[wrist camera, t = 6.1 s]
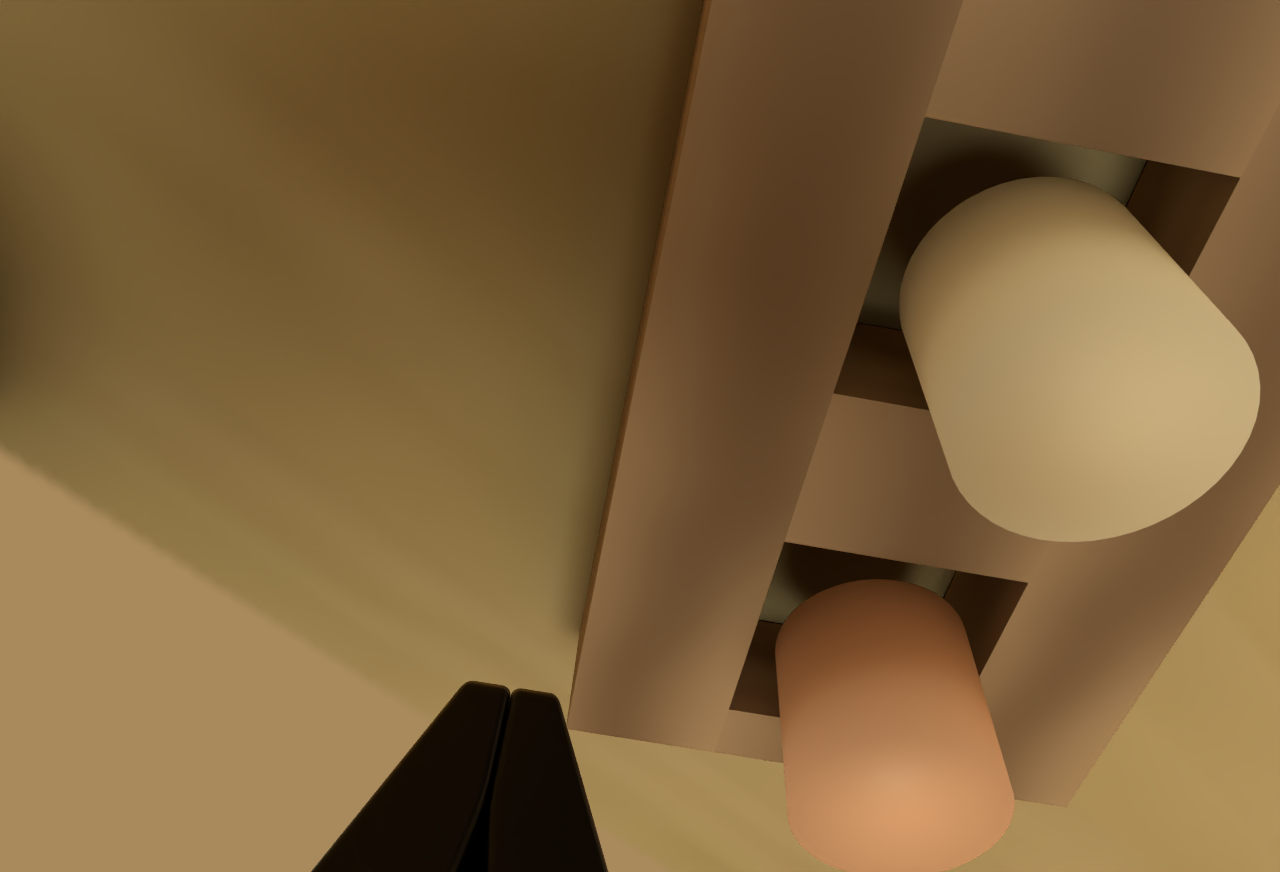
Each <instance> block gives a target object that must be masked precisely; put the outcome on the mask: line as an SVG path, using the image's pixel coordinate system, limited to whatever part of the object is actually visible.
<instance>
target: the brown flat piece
mask: <svg viewBox="0 0 1280 872" xmlns="http://www.w3.org/2000/svg"><path fill="white" fill-rule="evenodd" d="M925 117H928V118H934V119H939V120H944V121H949V122H954V123H959V124H965V125H970V126H975V127H980V128H985V129H991V130H996V131H1001V132H1006V133H1011V134H1016V135H1022V136H1027V137H1032V138H1037V139H1042V140H1048V141H1053V142H1058V143H1063V144H1068V145H1073V146H1079V147H1084V148H1089V149H1094V150H1099V151H1105V152H1110V153H1115V154H1120V155H1125V156H1130V157H1136V158H1141V159H1146V160H1148V161H1147V163H1146V166H1145V168H1144V170H1143V172H1142V174H1141V176H1140V179H1139V181H1138V183H1137V185H1136V187H1135V189H1134V191H1133V194H1132V196H1131V198H1130V200H1129V202H1128V204H1127V206H1126V208H1127V209H1128V211H1129V212H1130V213H1131V214H1132V215H1133V216H1134V217H1135V218H1136V219H1137V220H1138V222H1139V223H1140V224H1141V225H1142V226H1143V227H1144V228H1145V229H1146V230H1147V231H1148V232H1149V234H1150V235H1151V236H1152V237H1153V238H1154V239H1155V240H1156V241H1157V242H1158V243H1159V245H1160V246H1161V247H1162V248H1163V249H1164V250H1165V251H1166V252H1167V253H1168V254H1169V256H1170V257H1171V258H1172V259H1173V260H1174V261H1175V262H1176V263H1177V264H1178V265H1179V266H1180V268H1181V269H1182V270H1183V271H1184V272H1185V273H1186V274H1187V275H1188V276H1189V277H1190V279H1191V280H1192V281H1193V282H1194V283H1195V284H1196V285H1197V286H1198V287H1199V288H1200V290H1201V291H1202V292H1203V293H1204V294H1205V295H1206V296H1207V297H1208V298H1209V299H1210V301H1211V302H1212V303H1213V304H1214V305H1215V306H1216V307H1217V308H1218V309H1219V310H1220V311H1221V313H1222V314H1223V315H1224V316H1225V317H1226V318H1227V319H1228V320H1229V321H1230V322H1231V324H1232V325H1233V326H1234V327H1235V328H1236V329H1237V331H1238V332H1239V333H1240V334H1241V335H1242V337H1243V338H1244V339H1245V340H1246V342H1247V344H1248V346H1249V348H1250V350H1251V351H1252V353H1253V355H1254V358H1255V362H1256V365H1257V368H1258V372H1259V380H1260V404H1259V408H1258V413H1257V418H1256V421H1255V424H1254V427H1253V429H1252V432H1251V435H1250V437H1249V439H1248V441H1247V443H1246V444H1245V446H1244V448H1243V450H1242V452H1241V453H1240V455H1239V456H1238V458H1237V459H1236V460H1235V462H1234V463H1233V465H1232V466H1231V467H1230V469H1229V470H1228V471H1227V472H1226V473H1225V474H1224V475H1223V476H1222V477H1221V479H1220V480H1219V481H1218V482H1217V483H1216V484H1214V485H1213V486H1212V487H1211V488H1210V489H1209V490H1208V491H1207V492H1206V493H1205V494H1203V495H1202V496H1201V497H1199V498H1198V499H1197V500H1195V501H1194V502H1192V503H1191V504H1190V505H1188V506H1187V507H1185V508H1184V509H1182V510H1180V511H1179V512H1177V513H1175V514H1174V515H1172V516H1170V517H1168V518H1166V519H1164V520H1162V521H1160V522H1158V523H1156V524H1153V525H1151V526H1148V527H1146V528H1143V529H1140V530H1138V531H1135V532H1132V533H1128V534H1124V535H1121V536H1117V537H1113V538H1107V539H1101V540H1096V541H1084V542H1056V541H1047V540H1039V539H1035V538H1031V537H1026V536H1023V535H1020V534H1017V533H1014V532H1011V531H1008V530H1006V529H1004V528H1002V527H1000V526H998V525H996V524H994V523H993V522H991V521H990V520H988V519H987V518H985V517H984V516H982V515H981V514H980V513H979V512H978V511H976V510H975V509H974V508H973V507H972V506H971V505H970V504H969V503H968V502H967V500H966V499H965V498H964V497H963V495H962V494H961V493H960V491H959V489H958V488H957V486H956V484H955V482H954V480H953V478H952V475H951V472H950V469H949V467H948V464H947V461H946V458H945V455H944V452H943V449H942V446H941V443H940V440H939V437H938V434H937V431H936V428H935V425H934V422H933V419H932V416H931V413H930V410H929V407H928V404H927V402H926V399H925V396H924V393H923V390H922V387H921V384H920V381H919V378H918V375H917V372H916V369H915V366H914V363H913V360H912V357H911V354H910V351H909V348H908V345H907V342H906V340H905V337H904V334H903V331H899V330H894V329H888V328H883V327H877V326H872V325H866V324H860V323H857V320H858V317H859V314H860V311H861V308H862V305H863V302H864V299H865V296H866V293H867V290H868V287H869V284H870V281H871V278H872V275H873V272H874V269H875V266H876V263H877V260H878V257H879V254H880V251H881V248H882V245H883V242H884V239H885V236H886V233H887V230H888V227H889V224H890V221H891V218H892V215H893V212H894V209H895V206H896V203H897V200H898V196H899V193H900V190H901V187H902V184H903V181H904V178H905V175H906V172H907V169H908V166H909V163H910V160H911V157H912V154H913V151H914V148H915V145H916V142H917V139H918V136H919V133H920V130H921V127H922V124H923V121H924V118H925ZM1279 485H1280V0H703V6H702V11H701V16H700V21H699V26H698V31H697V36H696V41H695V46H694V52H693V57H692V62H691V67H690V72H689V77H688V82H687V87H686V92H685V97H684V103H683V108H682V113H681V118H680V123H679V128H678V133H677V138H676V143H675V149H674V154H673V159H672V164H671V169H670V174H669V179H668V184H667V189H666V195H665V200H664V205H663V210H662V215H661V220H660V225H659V230H658V235H657V241H656V246H655V251H654V256H653V261H652V266H651V271H650V276H649V281H648V287H647V292H646V297H645V302H644V307H643V312H642V317H641V322H640V327H639V332H638V338H637V343H636V348H635V353H634V358H633V363H632V368H631V373H630V378H629V384H628V389H627V394H626V399H625V404H624V409H623V414H622V419H621V424H620V430H619V435H618V440H617V445H616V450H615V455H614V460H613V465H612V470H611V476H610V481H609V486H608V491H607V496H606V501H605V506H604V511H603V516H602V522H601V527H600V532H599V537H598V542H597V547H596V552H595V557H594V562H593V567H592V573H591V578H590V583H589V588H588V593H587V598H586V603H585V608H584V613H583V619H582V624H581V629H580V634H579V640H578V648H577V655H576V662H575V669H574V676H573V683H572V690H571V697H570V705H569V712H568V719H567V729H570V730H577V731H583V732H590V733H596V734H602V735H609V736H615V737H621V738H628V739H634V740H640V741H647V742H653V743H660V744H666V745H672V746H679V747H685V748H691V749H698V750H704V751H710V752H717V753H723V754H730V755H736V756H742V757H749V758H755V759H761V760H768V761H774V762H781V763H784V761H783V748H782V735H781V722H780V709H779V697H778V684H777V671H776V658H775V646H776V640H777V636H778V633H779V631H780V629H781V627H782V625H781V624H775V623H769V622H763V621H758V620H759V617H760V614H761V610H762V607H763V604H764V601H765V598H766V595H767V592H768V589H769V586H770V583H771V580H772V577H773V574H774V571H775V568H776V565H777V562H778V559H779V556H780V553H781V550H782V547H783V544H784V542H790V543H796V544H802V545H807V546H813V547H819V548H825V549H831V550H837V551H843V552H849V553H855V554H861V555H867V556H873V557H879V558H884V559H890V560H896V561H902V562H908V563H914V564H920V565H926V566H932V567H938V568H944V569H950V570H956V574H955V576H954V578H953V580H952V582H951V584H950V587H949V589H948V591H947V593H946V595H945V597H944V600H945V601H946V602H948V603H949V604H950V605H951V606H952V607H953V608H954V610H955V611H956V612H957V613H958V615H959V617H960V618H961V620H962V622H963V625H964V628H965V630H966V634H967V637H968V641H969V644H970V647H971V651H972V654H973V658H974V661H975V664H976V668H977V671H978V675H979V678H980V681H981V685H982V688H983V691H984V695H985V698H986V702H987V705H988V708H989V712H990V715H991V719H992V722H993V725H994V729H995V732H996V736H997V739H998V742H999V746H1000V749H1001V752H1002V756H1003V759H1004V763H1005V766H1006V769H1007V773H1008V776H1009V780H1010V783H1011V786H1012V790H1013V793H1014V799H1016V800H1022V801H1029V802H1035V803H1042V804H1048V805H1054V806H1061V807H1066V806H1067V805H1068V803H1069V802H1070V800H1071V799H1072V797H1073V796H1074V794H1075V793H1076V791H1077V790H1078V788H1079V787H1080V785H1081V784H1082V782H1083V781H1084V779H1085V778H1086V776H1087V775H1088V773H1089V772H1090V770H1091V769H1092V767H1093V766H1094V764H1095V763H1096V761H1097V760H1098V758H1099V756H1100V755H1101V753H1102V752H1103V750H1104V749H1105V747H1106V746H1107V744H1108V743H1109V741H1110V740H1111V738H1112V737H1113V735H1114V734H1115V732H1116V731H1117V729H1118V728H1119V726H1120V725H1121V723H1122V722H1123V720H1124V719H1125V717H1126V716H1127V714H1128V713H1129V711H1130V710H1131V708H1132V707H1133V705H1134V704H1135V702H1136V701H1137V699H1138V698H1139V696H1140V695H1141V693H1142V692H1143V690H1144V689H1145V687H1146V686H1147V684H1148V682H1149V681H1150V679H1151V678H1152V676H1153V675H1154V673H1155V672H1156V670H1157V669H1158V667H1159V666H1160V664H1161V663H1162V661H1163V660H1164V658H1165V657H1166V655H1167V654H1168V652H1169V651H1170V649H1171V648H1172V646H1173V645H1174V643H1175V642H1176V640H1177V639H1178V637H1179V636H1180V634H1181V633H1182V631H1183V630H1184V628H1185V627H1186V625H1187V624H1188V622H1189V621H1190V619H1191V618H1192V616H1193V615H1194V613H1195V611H1196V610H1197V608H1198V607H1199V605H1200V604H1201V602H1202V601H1203V599H1204V598H1205V596H1206V595H1207V593H1208V592H1209V590H1210V589H1211V587H1212V586H1213V584H1214V583H1215V581H1216V580H1217V578H1218V577H1219V575H1220V574H1221V572H1222V571H1223V569H1224V568H1225V566H1226V565H1227V563H1228V562H1229V560H1230V559H1231V557H1232V556H1233V554H1234V553H1235V551H1236V550H1237V548H1238V547H1239V545H1240V544H1241V542H1242V541H1243V539H1244V537H1245V536H1246V534H1247V533H1248V531H1249V530H1250V528H1251V527H1252V525H1253V524H1254V522H1255V521H1256V519H1257V518H1258V516H1259V515H1260V513H1261V512H1262V510H1263V509H1264V507H1265V506H1266V504H1267V503H1268V501H1269V500H1270V498H1271V497H1272V495H1273V494H1274V492H1275V491H1276V489H1277V488H1278V486H1279Z"/></svg>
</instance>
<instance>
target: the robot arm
mask: <svg viewBox="0 0 1280 872" xmlns="http://www.w3.org/2000/svg"><path fill="white" fill-rule="evenodd" d="M311 872H608V869H607V866H606V862H605V859H604V855H603V852H602V848H601V845H600V841H599V838H598V834H597V831H596V827H595V824H594V820H593V817H592V813H591V810H590V806H589V803H588V799H587V796H586V792H585V789H584V785H583V782H582V778H581V775H580V771H579V768H578V764H577V761H576V757H575V754H574V750H573V747H572V743H571V740H570V736H569V733H568V729H567V726H566V722H565V719H564V715H563V712H562V708H561V705H560V702H559V700H558V698H557V697H556V696H555V695H554V694H552V693H547V692H541V691H534V690H528V689H522V688H520V689H516V690H514V691H513V692H512V694H511V697H510V691H509V689H508V688H507V687H505V686H503V685H497V684H490V683H484V682H478V681H469V682H466V683H465V684H464V685H462V686H461V687H460V688H459V690H458V691H457V692H456V693H455V695H454V696H453V697H452V698H451V700H450V701H449V702H448V703H447V704H446V706H445V707H444V708H443V709H442V711H441V712H440V713H439V714H438V716H437V717H436V718H435V719H434V721H433V722H432V723H431V724H430V725H429V727H428V728H427V729H426V730H425V732H424V733H423V734H422V735H421V737H420V738H419V739H418V740H417V742H416V743H415V744H414V745H413V747H412V748H411V749H410V750H409V751H408V753H407V754H406V755H405V756H404V758H403V759H402V760H401V761H400V763H399V764H398V765H397V766H396V767H395V769H394V770H393V771H392V772H391V774H390V775H389V776H388V777H387V779H386V780H385V781H384V782H383V784H382V785H381V786H380V787H379V789H378V790H377V791H376V792H375V793H374V795H373V796H372V797H371V798H370V800H369V801H368V802H367V803H366V805H365V806H364V807H363V808H362V809H361V811H360V812H359V813H358V815H357V816H356V817H355V818H354V819H353V821H352V822H351V823H350V824H349V826H348V827H347V828H346V829H345V830H344V832H343V833H342V834H341V835H340V837H339V838H338V839H337V840H336V842H335V843H334V844H333V845H332V847H331V848H330V849H329V850H328V851H327V853H326V854H325V855H324V856H323V858H322V859H321V860H320V861H319V863H318V864H317V865H316V866H315V868H314V869H313V870H312V871H311Z"/></svg>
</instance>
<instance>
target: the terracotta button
mask: <svg viewBox="0 0 1280 872" xmlns="http://www.w3.org/2000/svg"><path fill="white" fill-rule="evenodd" d="M775 658H776V671H777V684H778V697H779V709H780V722H781V735H782V748H783V761H784V774H785V786H786V799H787V812H788V821H789V825H790V828H791V831H792V833H793V834H794V836H795V838H796V840H797V841H798V842H799V843H800V844H801V846H802V847H803V848H804V849H805V850H807V851H808V852H809V853H810V854H811V855H813V856H814V857H816V858H817V859H819V860H820V861H822V862H824V863H826V864H828V865H830V866H833V867H835V868H838V869H840V870H843V871H847V872H942V871H945V870H949V869H951V868H954V867H957V866H959V865H962V864H964V863H966V862H968V861H970V860H972V859H974V858H976V857H977V856H979V855H981V854H982V853H984V852H985V851H986V850H988V849H989V848H990V847H992V846H993V845H994V844H995V843H996V842H997V841H998V840H999V839H1000V838H1001V837H1002V835H1003V834H1004V833H1005V831H1006V830H1007V828H1008V826H1009V824H1010V822H1011V820H1012V817H1013V813H1014V806H1015V800H1014V793H1013V790H1012V786H1011V783H1010V780H1009V776H1008V773H1007V769H1006V766H1005V763H1004V759H1003V756H1002V752H1001V749H1000V746H999V742H998V739H997V736H996V732H995V729H994V725H993V722H992V719H991V715H990V712H989V708H988V705H987V702H986V698H985V695H984V691H983V688H982V685H981V681H980V678H979V675H978V671H977V668H976V664H975V661H974V658H973V654H972V651H971V647H970V644H969V641H968V637H967V634H966V630H965V628H964V625H963V622H962V620H961V618H960V617H959V615H958V613H957V612H956V611H955V610H954V608H953V607H952V606H951V605H950V604H949V603H948V602H946V601H945V600H944V599H943V598H941V597H940V596H938V595H937V594H935V593H934V592H932V591H930V590H927V589H925V588H923V587H920V586H917V585H915V584H912V583H907V582H903V581H897V580H888V579H868V580H858V581H853V582H847V583H843V584H840V585H836V586H833V587H831V588H828V589H826V590H823V591H821V592H819V593H817V594H815V595H814V596H812V597H810V598H809V599H807V600H806V601H804V602H803V603H802V604H800V605H799V606H798V607H797V608H796V609H795V610H794V611H793V612H792V613H791V614H790V615H789V616H788V617H787V619H786V620H785V622H784V623H783V625H782V627H781V629H780V631H779V633H778V636H777V640H776V646H775Z"/></svg>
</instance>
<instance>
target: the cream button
mask: <svg viewBox="0 0 1280 872" xmlns="http://www.w3.org/2000/svg"><path fill="white" fill-rule="evenodd" d="M899 316H900V322H901V328H902V331H903V334H904V337H905V340H906V342H907V345H908V348H909V351H910V354H911V357H912V360H913V363H914V366H915V369H916V372H917V375H918V378H919V381H920V384H921V387H922V390H923V393H924V396H925V399H926V402H927V404H928V407H929V410H930V413H931V416H932V419H933V422H934V425H935V428H936V431H937V434H938V437H939V440H940V443H941V446H942V449H943V452H944V455H945V458H946V461H947V464H948V467H949V469H950V472H951V475H952V478H953V480H954V482H955V484H956V486H957V488H958V489H959V491H960V493H961V494H962V495H963V497H964V498H965V499H966V500H967V502H968V503H969V504H970V505H971V506H972V507H973V508H974V509H975V510H976V511H978V512H979V513H980V514H981V515H982V516H984V517H985V518H987V519H988V520H990V521H991V522H993V523H994V524H996V525H998V526H1000V527H1002V528H1004V529H1006V530H1008V531H1011V532H1014V533H1017V534H1020V535H1023V536H1026V537H1031V538H1035V539H1039V540H1047V541H1056V542H1084V541H1096V540H1101V539H1107V538H1113V537H1117V536H1121V535H1124V534H1128V533H1132V532H1135V531H1138V530H1140V529H1143V528H1146V527H1148V526H1151V525H1153V524H1156V523H1158V522H1160V521H1162V520H1164V519H1166V518H1168V517H1170V516H1172V515H1174V514H1175V513H1177V512H1179V511H1180V510H1182V509H1184V508H1185V507H1187V506H1188V505H1190V504H1191V503H1192V502H1194V501H1195V500H1197V499H1198V498H1199V497H1201V496H1202V495H1203V494H1205V493H1206V492H1207V491H1208V490H1209V489H1210V488H1211V487H1212V486H1213V485H1214V484H1216V483H1217V482H1218V481H1219V480H1220V479H1221V477H1222V476H1223V475H1224V474H1225V473H1226V472H1227V471H1228V470H1229V469H1230V467H1231V466H1232V465H1233V463H1234V462H1235V460H1236V459H1237V458H1238V456H1239V455H1240V453H1241V452H1242V450H1243V448H1244V446H1245V444H1246V443H1247V441H1248V439H1249V437H1250V435H1251V432H1252V429H1253V427H1254V424H1255V421H1256V418H1257V413H1258V408H1259V404H1260V380H1259V372H1258V368H1257V365H1256V362H1255V358H1254V355H1253V353H1252V351H1251V350H1250V348H1249V346H1248V344H1247V342H1246V340H1245V339H1244V338H1243V337H1242V335H1241V334H1240V333H1239V332H1238V331H1237V329H1236V328H1235V327H1234V326H1233V325H1232V324H1231V322H1230V321H1229V320H1228V319H1227V318H1226V317H1225V316H1224V315H1223V314H1222V313H1221V311H1220V310H1219V309H1218V308H1217V307H1216V306H1215V305H1214V304H1213V303H1212V302H1211V301H1210V299H1209V298H1208V297H1207V296H1206V295H1205V294H1204V293H1203V292H1202V291H1201V290H1200V288H1199V287H1198V286H1197V285H1196V284H1195V283H1194V282H1193V281H1192V280H1191V279H1190V277H1189V276H1188V275H1187V274H1186V273H1185V272H1184V271H1183V270H1182V269H1181V268H1180V266H1179V265H1178V264H1177V263H1176V262H1175V261H1174V260H1173V259H1172V258H1171V257H1170V256H1169V254H1168V253H1167V252H1166V251H1165V250H1164V249H1163V248H1162V247H1161V246H1160V245H1159V243H1158V242H1157V241H1156V240H1155V239H1154V238H1153V237H1152V236H1151V235H1150V234H1149V232H1148V231H1147V230H1146V229H1145V228H1144V227H1143V226H1142V225H1141V224H1140V223H1139V222H1138V220H1137V219H1136V218H1135V217H1134V216H1133V215H1132V214H1131V213H1130V212H1129V211H1128V209H1127V208H1126V207H1125V206H1124V205H1122V204H1121V203H1120V202H1119V201H1118V200H1117V199H1116V198H1114V197H1113V196H1111V195H1110V194H1108V193H1106V192H1105V191H1103V190H1102V189H1100V188H1097V187H1095V186H1092V185H1090V184H1088V183H1085V182H1081V181H1077V180H1073V179H1068V178H1060V177H1032V178H1024V179H1018V180H1014V181H1010V182H1006V183H1002V184H999V185H996V186H994V187H991V188H988V189H986V190H984V191H982V192H980V193H978V194H976V195H974V196H972V197H970V198H968V199H967V200H965V201H963V202H962V203H960V204H959V205H957V206H956V207H954V208H953V209H952V210H951V211H949V212H948V213H947V214H946V215H945V216H943V217H942V218H941V219H940V220H939V221H938V222H937V223H936V224H935V225H934V226H933V227H932V228H931V229H930V230H929V231H928V233H927V234H926V235H925V237H924V238H923V239H922V241H921V242H920V243H919V245H918V246H917V248H916V250H915V252H914V253H913V255H912V257H911V259H910V261H909V263H908V266H907V268H906V270H905V273H904V277H903V280H902V284H901V289H900V297H899Z"/></svg>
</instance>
